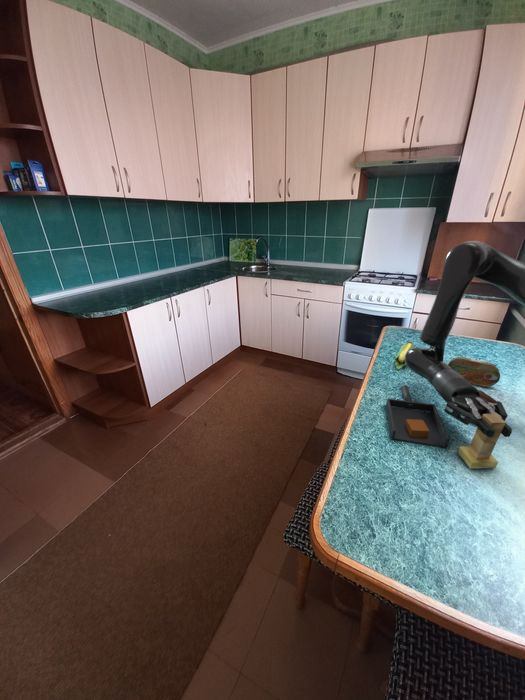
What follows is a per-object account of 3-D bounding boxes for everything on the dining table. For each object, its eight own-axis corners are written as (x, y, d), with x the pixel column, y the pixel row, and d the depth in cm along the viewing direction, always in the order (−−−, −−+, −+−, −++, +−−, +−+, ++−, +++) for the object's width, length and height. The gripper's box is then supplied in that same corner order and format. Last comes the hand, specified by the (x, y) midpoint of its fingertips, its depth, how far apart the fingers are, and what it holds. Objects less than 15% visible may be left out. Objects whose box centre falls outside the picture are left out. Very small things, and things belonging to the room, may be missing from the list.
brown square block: (420, 426, 81) (422, 419, 80) (427, 437, 77) (429, 431, 76) (404, 425, 81) (406, 419, 80) (410, 437, 77) (412, 430, 76)
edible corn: (415, 351, 122) (418, 342, 120) (404, 372, 108) (407, 361, 106) (402, 348, 125) (404, 339, 123) (390, 368, 110) (392, 357, 108)
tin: (443, 377, 104) (450, 356, 100) (444, 373, 107) (451, 353, 103) (495, 390, 97) (504, 368, 93) (495, 386, 99) (503, 364, 95)
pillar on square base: (481, 451, 73) (499, 410, 67) (495, 468, 68) (516, 425, 62) (457, 452, 73) (473, 411, 67) (470, 468, 68) (488, 426, 62)
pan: (446, 448, 75) (449, 439, 73) (391, 439, 78) (393, 430, 76) (424, 393, 96) (426, 385, 94) (382, 388, 99) (383, 380, 97)
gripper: (431, 377, 76) (473, 421, 61) (484, 376, 76) (540, 420, 61) (424, 400, 80) (463, 447, 64) (475, 399, 80) (526, 446, 64)
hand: (500, 434), depth 63 cm, fingers closed on pillar on square base, 3 cm apart
